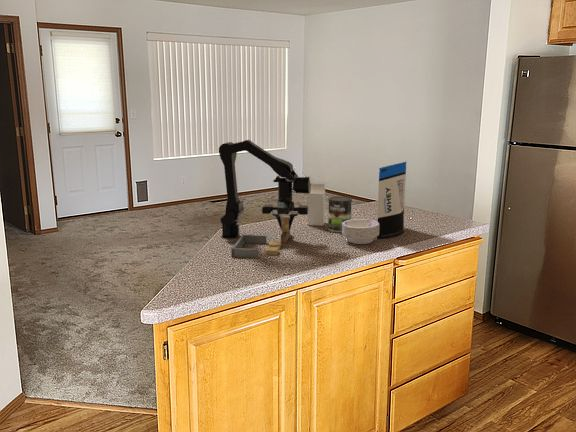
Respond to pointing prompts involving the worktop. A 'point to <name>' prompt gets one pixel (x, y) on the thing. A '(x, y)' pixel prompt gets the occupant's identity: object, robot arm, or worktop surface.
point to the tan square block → (275, 244)
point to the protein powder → (391, 200)
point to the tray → (242, 252)
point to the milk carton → (316, 205)
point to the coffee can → (338, 212)
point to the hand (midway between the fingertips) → (285, 229)
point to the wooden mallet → (285, 229)
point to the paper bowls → (360, 230)
